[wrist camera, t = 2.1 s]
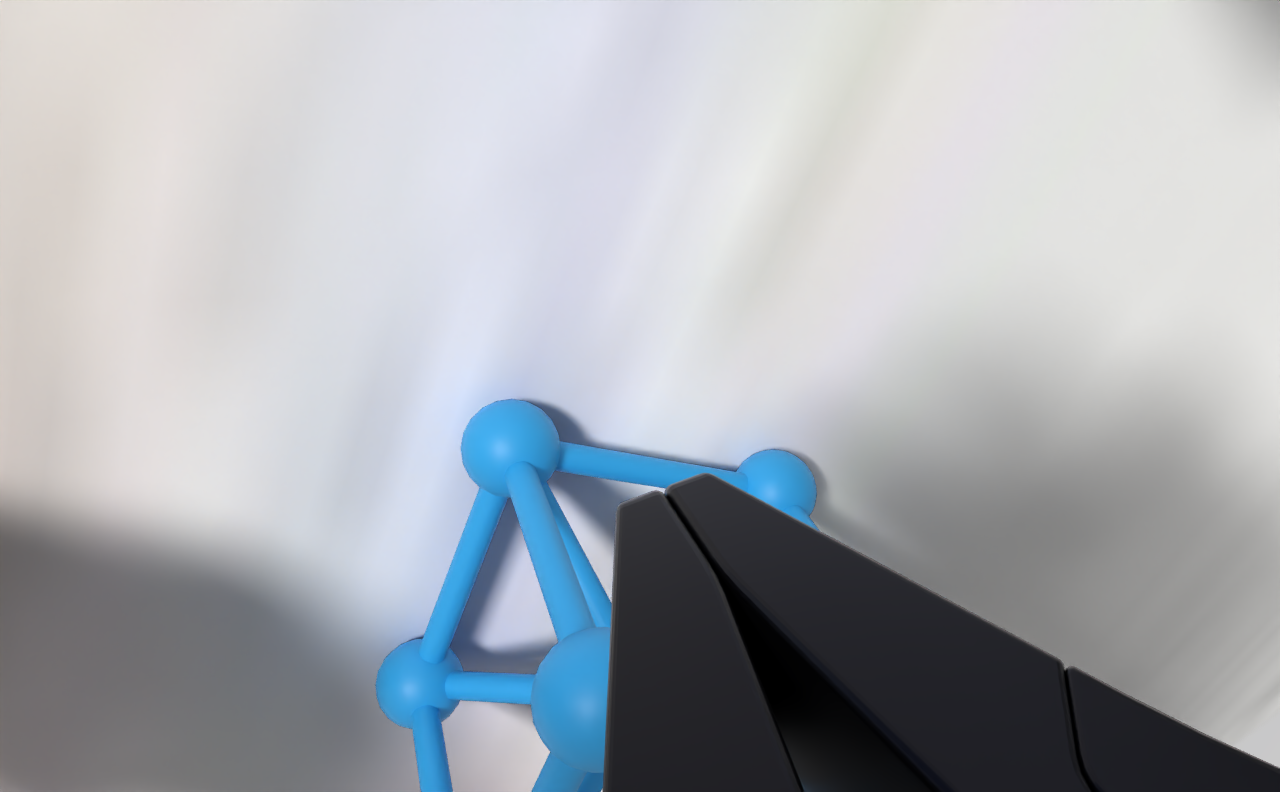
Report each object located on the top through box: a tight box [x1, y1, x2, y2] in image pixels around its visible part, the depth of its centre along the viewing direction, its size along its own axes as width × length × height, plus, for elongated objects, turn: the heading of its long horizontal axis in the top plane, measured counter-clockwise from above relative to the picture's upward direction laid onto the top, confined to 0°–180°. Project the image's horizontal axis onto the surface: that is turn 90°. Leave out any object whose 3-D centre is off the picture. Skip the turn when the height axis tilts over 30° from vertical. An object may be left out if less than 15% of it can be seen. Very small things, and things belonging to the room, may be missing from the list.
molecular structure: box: [375, 399, 819, 792], centre depth 22 cm, size 10×10×10 cm
